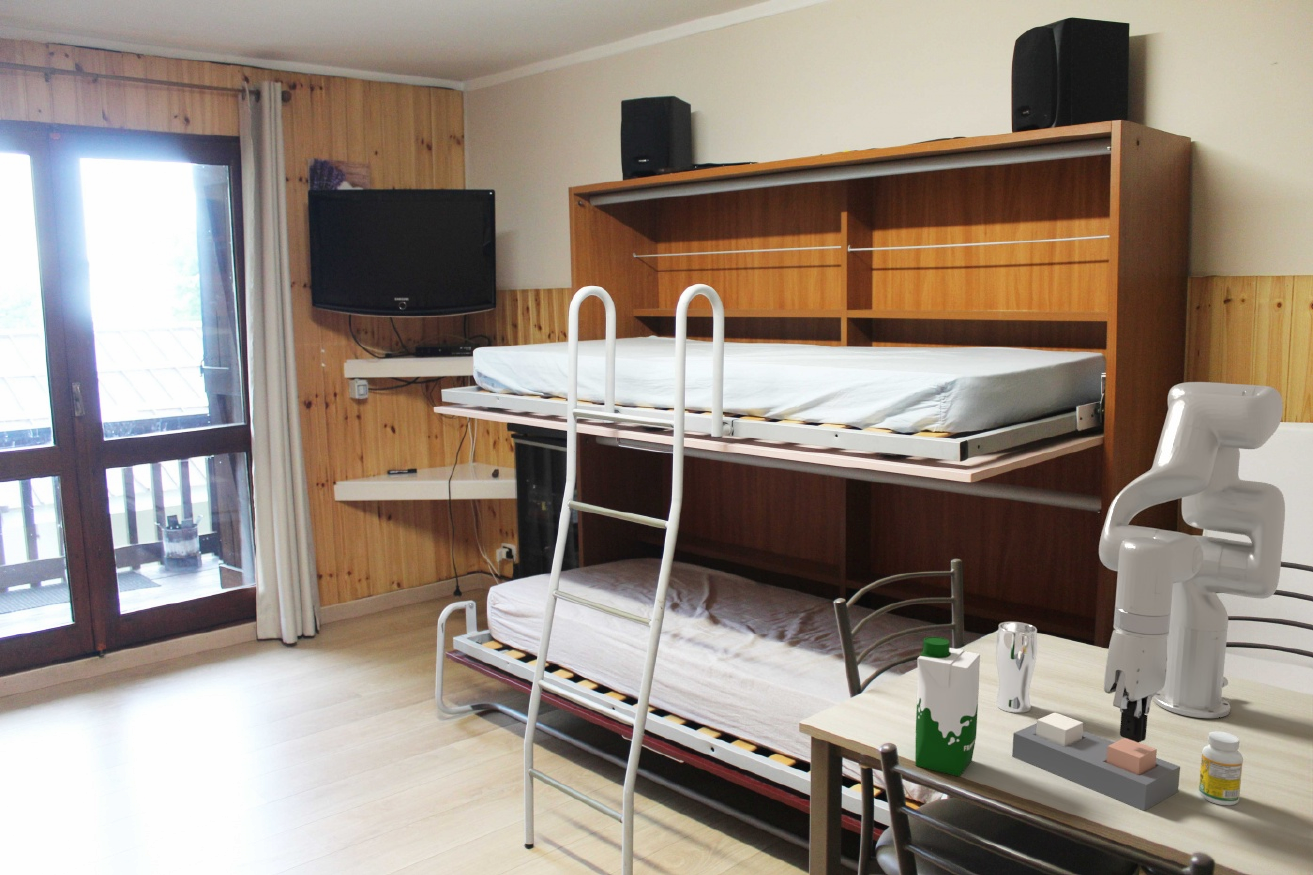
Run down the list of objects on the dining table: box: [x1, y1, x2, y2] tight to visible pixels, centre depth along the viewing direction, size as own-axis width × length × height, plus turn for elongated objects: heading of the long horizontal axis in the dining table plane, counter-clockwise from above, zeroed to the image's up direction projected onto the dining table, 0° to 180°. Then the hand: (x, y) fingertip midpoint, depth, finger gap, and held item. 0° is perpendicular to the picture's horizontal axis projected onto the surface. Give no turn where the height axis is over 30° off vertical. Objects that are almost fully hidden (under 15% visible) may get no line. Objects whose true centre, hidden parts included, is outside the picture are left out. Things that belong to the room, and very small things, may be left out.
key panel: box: [1011, 722, 1181, 812], centre depth 161 cm, size 10×22×4 cm, turn 37°
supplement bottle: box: [1198, 730, 1244, 806], centre depth 154 cm, size 5×5×10 cm
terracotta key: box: [1106, 737, 1158, 776], centre depth 156 cm, size 5×5×4 cm
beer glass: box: [995, 621, 1038, 714], centre depth 187 cm, size 7×7×15 cm
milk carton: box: [914, 636, 981, 778], centre depth 163 cm, size 9×9×20 cm
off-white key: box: [1036, 712, 1084, 747], centre depth 166 cm, size 5×5×4 cm
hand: (1132, 738), depth 156 cm, fingers closed
